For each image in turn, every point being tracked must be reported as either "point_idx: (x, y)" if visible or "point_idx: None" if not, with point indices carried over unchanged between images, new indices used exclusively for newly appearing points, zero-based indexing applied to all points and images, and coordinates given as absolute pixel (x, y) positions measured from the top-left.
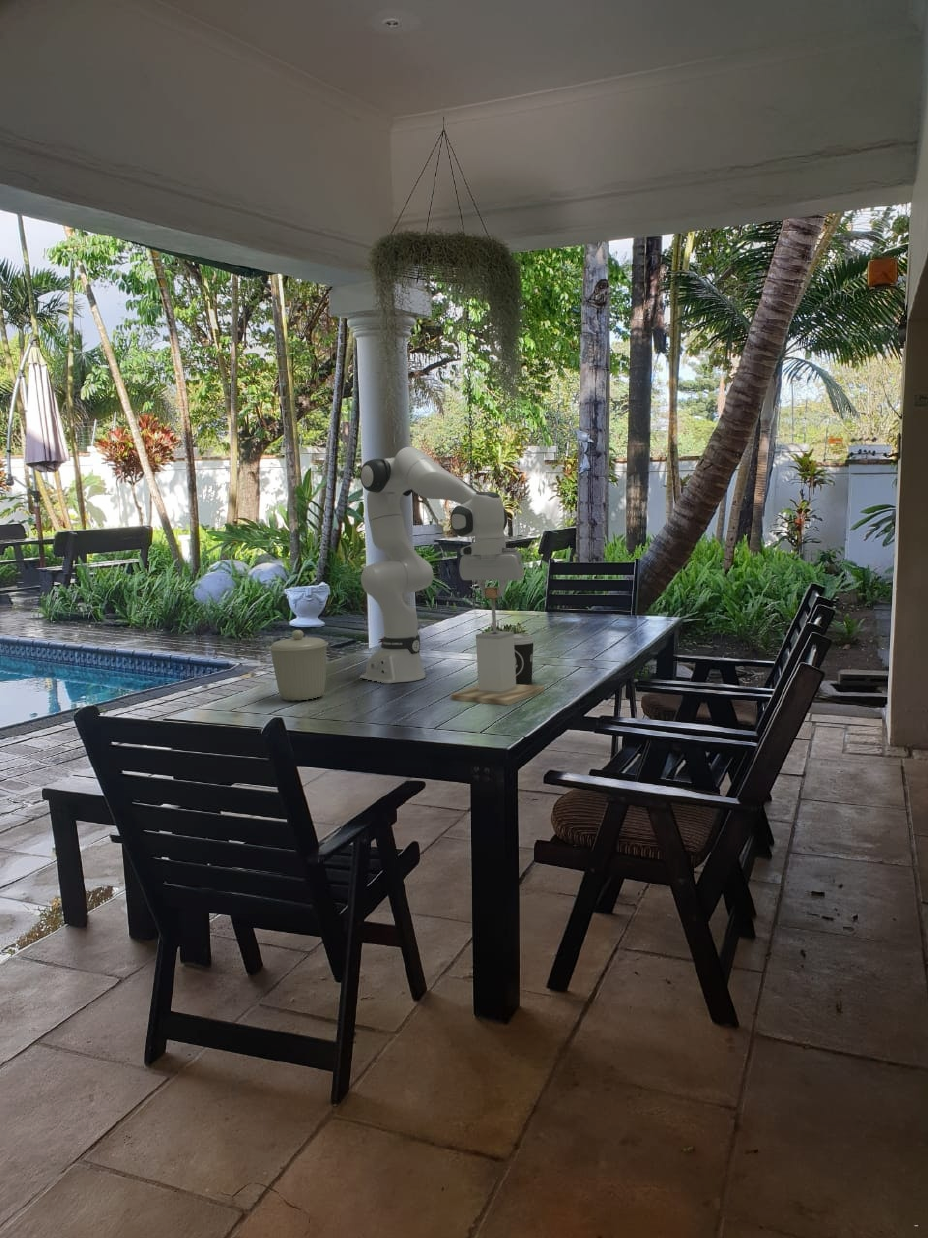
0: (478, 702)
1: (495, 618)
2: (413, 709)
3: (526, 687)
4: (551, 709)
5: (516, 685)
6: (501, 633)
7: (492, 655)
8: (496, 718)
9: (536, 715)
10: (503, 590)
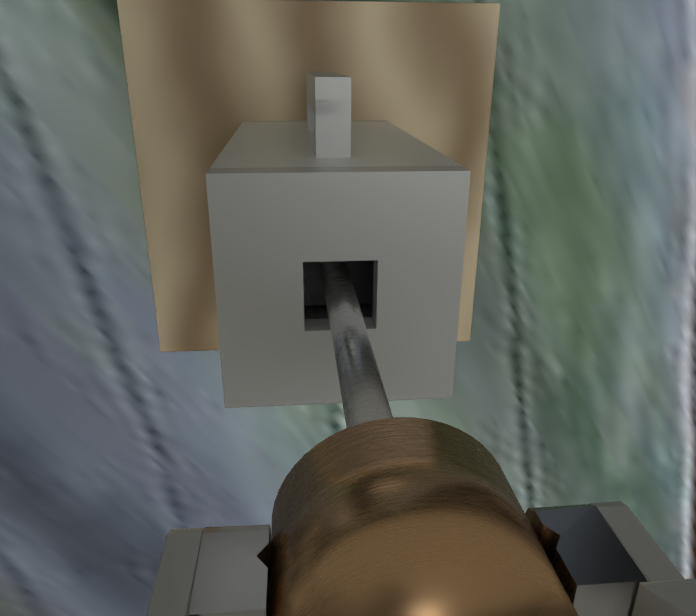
0: None
1: (374, 356)
2: (149, 515)
3: (419, 66)
4: (654, 318)
5: (340, 36)
6: (404, 282)
7: None
8: (516, 493)
9: (631, 411)
10: (667, 584)
